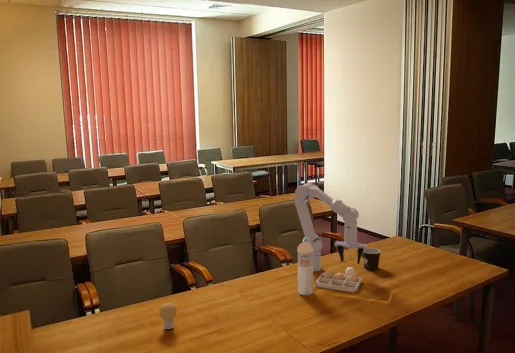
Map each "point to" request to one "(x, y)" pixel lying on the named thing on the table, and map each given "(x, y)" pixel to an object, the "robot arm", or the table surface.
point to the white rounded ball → (350, 271)
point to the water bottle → (305, 268)
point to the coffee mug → (371, 258)
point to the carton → (338, 281)
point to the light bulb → (168, 314)
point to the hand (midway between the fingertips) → (350, 262)
